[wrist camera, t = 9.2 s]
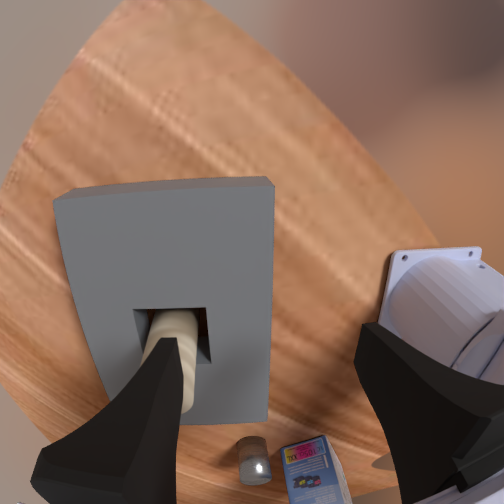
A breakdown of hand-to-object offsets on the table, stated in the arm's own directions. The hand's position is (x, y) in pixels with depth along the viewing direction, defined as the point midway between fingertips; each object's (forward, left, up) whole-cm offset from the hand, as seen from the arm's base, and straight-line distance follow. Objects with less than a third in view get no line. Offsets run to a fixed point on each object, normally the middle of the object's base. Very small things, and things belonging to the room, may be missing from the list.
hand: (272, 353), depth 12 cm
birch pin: (+5, +4, -9) cm, 11 cm away
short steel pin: (0, +21, -9) cm, 23 cm away
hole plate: (+5, +4, -9) cm, 11 cm away
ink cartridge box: (-7, +26, -10) cm, 29 cm away
